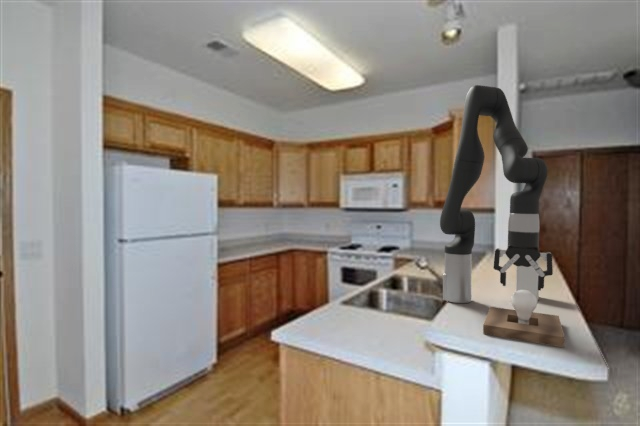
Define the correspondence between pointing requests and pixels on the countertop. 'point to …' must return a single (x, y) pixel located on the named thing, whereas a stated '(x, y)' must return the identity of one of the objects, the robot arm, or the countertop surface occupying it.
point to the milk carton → (527, 279)
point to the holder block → (524, 327)
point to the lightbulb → (524, 305)
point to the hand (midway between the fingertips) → (521, 287)
